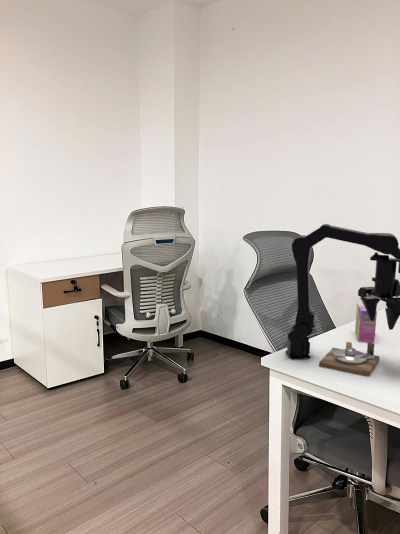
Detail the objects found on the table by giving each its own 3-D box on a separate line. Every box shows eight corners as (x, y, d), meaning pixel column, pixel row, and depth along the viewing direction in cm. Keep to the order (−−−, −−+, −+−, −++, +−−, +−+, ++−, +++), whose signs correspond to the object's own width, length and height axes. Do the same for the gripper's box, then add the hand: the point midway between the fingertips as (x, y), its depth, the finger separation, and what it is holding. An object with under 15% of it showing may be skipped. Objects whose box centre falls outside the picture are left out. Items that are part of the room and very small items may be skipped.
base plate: (368, 376, 139) (370, 362, 138) (319, 366, 146) (319, 352, 146) (379, 360, 151) (380, 347, 150) (332, 351, 159) (333, 339, 158)
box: (374, 342, 168) (377, 311, 166) (358, 341, 169) (360, 310, 167) (370, 333, 178) (372, 303, 176) (354, 332, 179) (356, 302, 177)
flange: (340, 364, 143) (341, 349, 142) (329, 352, 153) (330, 338, 152) (379, 363, 144) (381, 349, 143) (366, 352, 154) (367, 338, 153)
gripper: (429, 280, 135) (424, 332, 138) (388, 268, 153) (385, 315, 156) (396, 282, 132) (392, 335, 135) (358, 270, 150) (355, 317, 153)
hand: (381, 325), depth 145 cm, fingers open, 9 cm apart
